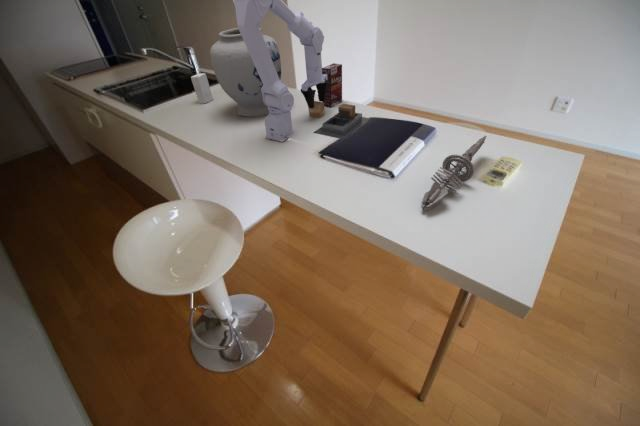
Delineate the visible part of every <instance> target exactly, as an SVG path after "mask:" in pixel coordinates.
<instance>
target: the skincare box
mask: <svg viewBox="0 0 640 426" xmlns="http://www.w3.org/2000/svg"><path fill="white" fill-rule="evenodd" d="M190 78H191V79H190V80H191V83H192V85H193V88H194V91H195V95H196V98H197V101H198V103H199V104H201V103H206V104H208V103H210V102H211V101H213V100H214V98H213V94H212V90H211V87H210V83H209V80H208V77H207V74H206V73H196V74H195V75H191V76H190ZM209 101H210V102H209ZM207 102H208V103H207Z"/></svg>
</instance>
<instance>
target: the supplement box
mask: <svg viewBox="0 0 640 426" xmlns="http://www.w3.org/2000/svg"><path fill="white" fill-rule="evenodd" d="M322 74H327V79H328V80H326V81H329V85H328V88H327V91H326V95H325V101H324V108H329V109H331V108H333V107H336V106H337V105H340V104H341V103H343V64H342V63H331V64H329V65H326V66H322Z"/></svg>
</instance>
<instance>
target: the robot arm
mask: <svg viewBox="0 0 640 426" xmlns="http://www.w3.org/2000/svg"><path fill="white" fill-rule="evenodd" d="M232 2H233V5H234V7H235V16H236V24H237V28H238V29H239V31H240V33H241V36H242V38H243V40H244V42H245V45H246V47H247V49H248V51H249V54H250V56H251V58H252V60H253V63H254V65H255V67H256V69H257V72H258V74H259V76H260V78H261V81H262V83H263V86H262V88H261V92H262V95H263V102H264V104H265V105H266V106H268V110H269V114H267V116H265V118H264V126H265V133H266V135H265V138H266V139H269V140H273V141H277V142H281V143H283V142H285V141H286V140H288V139H289V137H288V136H289V135H291V134H293V132H294V130H293V129H294V128H293V120H292V115H291V114H292V113H291V111H292V109H293V107H294V103H295V98H294V95H293V93H291V91H289V88H288V86H287V85H286V84H285V83H284V82H283V81H281V80H280V79H279V77H278V74H277V72H276V69H275V67H274V64H273V61H272V59H271V56H270V54H269V51H268V49H267V46H266V43H265V41H264V38H263V36H262V34H263V33H262V31H260V28H261V27H260V26H261V22H262V21H263V20H264V18H265V16H266V14H267V13H268V11H270V12H271V13H273V14H274V15H276V16H277V17H278V18H279V19H281V20H282V21H283V22H285V23H286V26H287V27H286V28H287V29H288V31H290V32H291V33H292V34H294V36H295V37H297V38H298V40H299V42H300V45H302V46H303V47H304V49H303V50H304V58H305V59H304V60H305V71H306V80H305V81H304V82H303V83H302V84H301V88H300V92H301V94H302V96H303V97H304V100H305V101H306V105H307V108H308V109H309V108H312V109H313V108H314V101H315V96H316V92H317V96H318V97H317V98H318V102H324V101H325V95H326V91H327V88H328V85H329V81H326V80H328V79H327V74H322V68H323V65H322V62H323V61H322V52H323V45H324V44H323V43H324V41H325V35H324V34H323V31H322V29H321V28H320V27H319V26H318V27H317V26H314V25H313V23H312V21H309V20H308V19H307V18H306V17H304V13H303V12H302V11H293V10H291V8H290V7H289V6H288V5H287V4H286V3H285V2H284V0H232ZM313 87H315V88H316V89H313Z"/></svg>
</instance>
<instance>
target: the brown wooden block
mask: <svg viewBox="0 0 640 426" xmlns="http://www.w3.org/2000/svg"><path fill="white" fill-rule="evenodd" d="M337 108H338V114H339V117H340V118H345V119H351V120H352V119H353V118H354V117H355V113H356V105H355V104H349V103H342V104H339V105H338V107H337Z"/></svg>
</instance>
